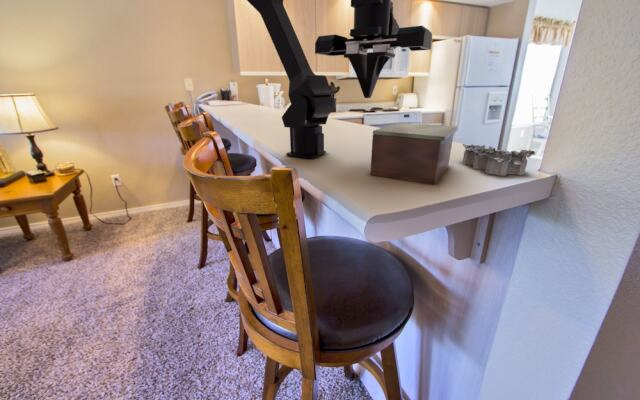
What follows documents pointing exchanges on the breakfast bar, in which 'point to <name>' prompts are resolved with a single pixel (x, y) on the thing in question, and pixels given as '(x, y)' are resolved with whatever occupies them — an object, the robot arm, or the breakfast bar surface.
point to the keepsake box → (410, 158)
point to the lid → (417, 131)
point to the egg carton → (496, 160)
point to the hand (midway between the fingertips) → (367, 97)
